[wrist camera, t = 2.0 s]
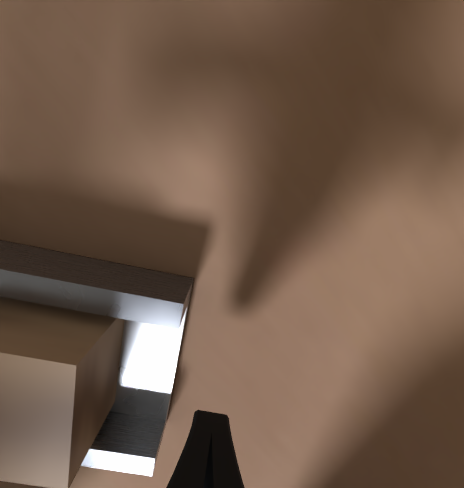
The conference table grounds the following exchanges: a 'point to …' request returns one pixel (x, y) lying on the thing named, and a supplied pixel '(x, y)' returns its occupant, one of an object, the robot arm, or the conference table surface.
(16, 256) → the chute
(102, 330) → the walnut block
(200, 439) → the robot arm
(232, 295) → the conference table surface
